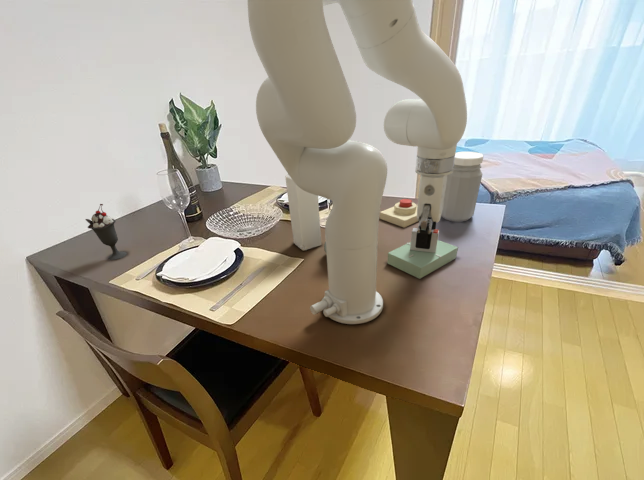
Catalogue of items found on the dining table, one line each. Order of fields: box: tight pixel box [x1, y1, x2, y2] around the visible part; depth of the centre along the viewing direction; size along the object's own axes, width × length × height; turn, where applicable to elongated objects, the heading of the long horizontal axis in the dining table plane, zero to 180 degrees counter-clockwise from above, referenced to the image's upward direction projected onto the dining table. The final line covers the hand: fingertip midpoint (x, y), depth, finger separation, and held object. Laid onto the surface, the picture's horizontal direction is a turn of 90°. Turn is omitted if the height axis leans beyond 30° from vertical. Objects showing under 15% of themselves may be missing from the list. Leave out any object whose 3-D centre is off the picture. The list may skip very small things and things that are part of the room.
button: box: [399, 198, 413, 208], centre depth 102 cm, size 4×4×2 cm
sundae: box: [85, 203, 128, 261], centre depth 91 cm, size 7×7×15 cm
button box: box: [379, 201, 419, 228], centre depth 103 cm, size 12×10×4 cm
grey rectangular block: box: [410, 227, 440, 253], centre depth 79 cm, size 6×2×5 cm, turn 68°
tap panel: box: [386, 239, 459, 280], centre depth 81 cm, size 14×10×3 cm
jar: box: [441, 151, 484, 223], centre depth 97 cm, size 10×10×18 cm
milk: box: [284, 173, 322, 252], centre depth 87 cm, size 6×6×22 cm
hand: (425, 238), depth 79 cm, fingers open, 9 cm apart
